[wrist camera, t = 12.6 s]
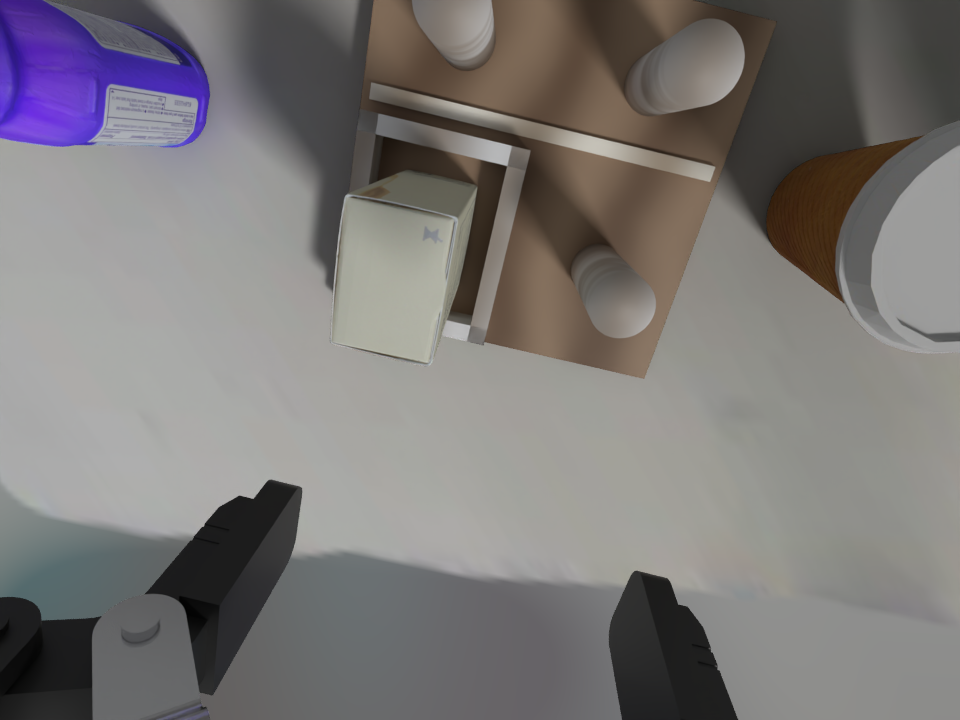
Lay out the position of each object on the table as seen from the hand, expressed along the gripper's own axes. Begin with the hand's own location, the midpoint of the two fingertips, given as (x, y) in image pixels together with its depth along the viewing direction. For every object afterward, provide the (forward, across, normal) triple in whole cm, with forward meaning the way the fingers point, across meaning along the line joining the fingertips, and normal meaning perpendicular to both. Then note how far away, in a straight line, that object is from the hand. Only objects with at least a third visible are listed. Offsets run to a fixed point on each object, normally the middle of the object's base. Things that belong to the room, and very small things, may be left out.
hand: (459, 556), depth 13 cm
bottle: (+23, +22, -7) cm, 33 cm away
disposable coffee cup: (+24, -17, -10) cm, 31 cm away
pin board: (+23, 0, -8) cm, 25 cm away
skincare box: (+22, +5, -3) cm, 23 cm away
